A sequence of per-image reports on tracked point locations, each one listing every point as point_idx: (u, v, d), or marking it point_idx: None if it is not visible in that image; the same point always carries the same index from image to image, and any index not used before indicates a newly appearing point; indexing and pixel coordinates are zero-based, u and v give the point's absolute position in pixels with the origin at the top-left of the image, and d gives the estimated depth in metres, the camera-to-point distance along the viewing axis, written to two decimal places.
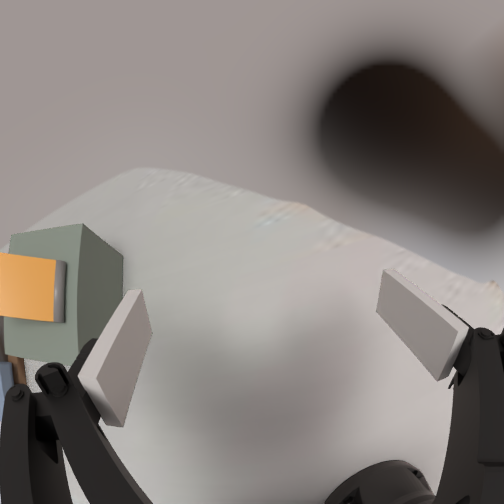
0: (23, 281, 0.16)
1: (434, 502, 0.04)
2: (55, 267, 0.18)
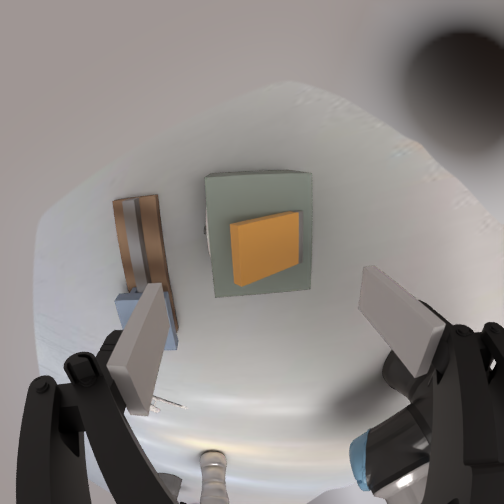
0: (276, 241, 0.24)
1: (422, 503, 0.04)
2: (299, 219, 0.25)
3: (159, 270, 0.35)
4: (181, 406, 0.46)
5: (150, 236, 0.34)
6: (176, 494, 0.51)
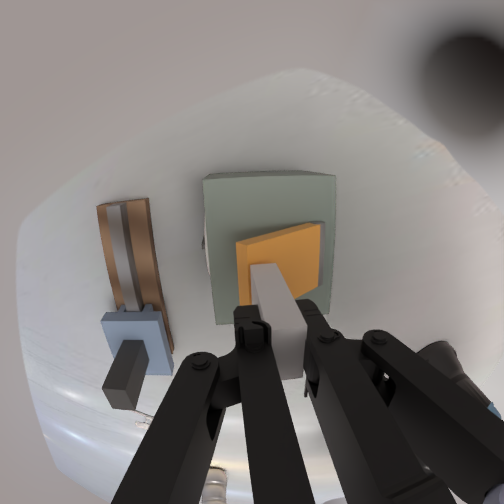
0: (294, 261, 0.19)
1: None
2: (320, 232, 0.20)
3: (151, 286, 0.30)
4: None
5: (140, 247, 0.29)
6: None
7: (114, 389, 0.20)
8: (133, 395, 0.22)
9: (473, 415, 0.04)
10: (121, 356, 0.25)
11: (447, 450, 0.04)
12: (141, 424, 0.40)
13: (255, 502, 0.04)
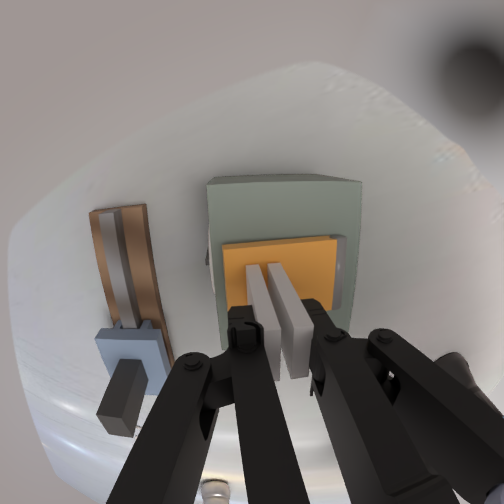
0: (292, 276, 0.17)
1: None
2: (336, 249, 0.17)
3: (149, 300, 0.27)
4: None
5: (136, 258, 0.26)
6: None
7: (109, 416, 0.17)
8: (131, 421, 0.19)
9: (476, 413, 0.04)
10: (117, 378, 0.22)
11: (450, 449, 0.04)
12: None
13: (250, 503, 0.04)
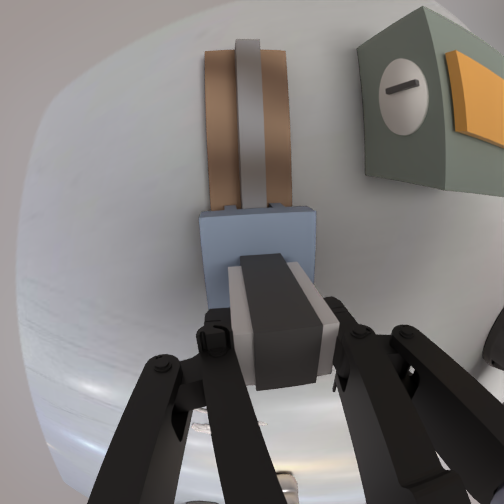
0: (497, 101, 0.09)
1: None
2: None
3: (281, 173, 0.19)
4: (258, 422, 0.30)
5: (271, 110, 0.18)
6: None
7: (292, 329, 0.09)
8: None
9: (489, 409, 0.04)
10: (256, 275, 0.14)
11: (463, 443, 0.04)
12: (201, 427, 0.29)
13: None
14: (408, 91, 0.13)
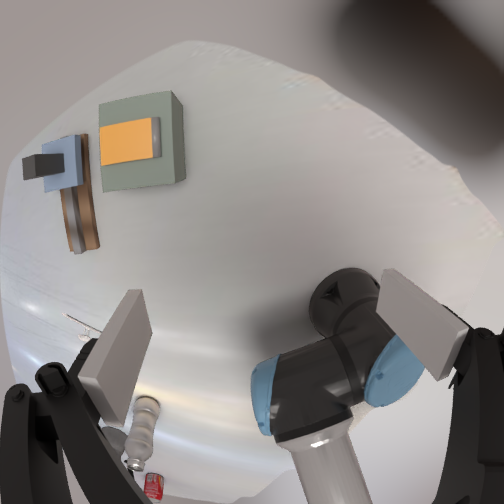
0: (129, 137, 0.29)
1: (434, 502, 0.04)
2: (151, 122, 0.28)
3: (84, 191, 0.39)
4: None
5: None
6: (120, 450, 0.55)
7: None
8: (39, 167, 0.26)
9: None
10: None
11: None
12: (82, 336, 0.48)
13: None
14: None
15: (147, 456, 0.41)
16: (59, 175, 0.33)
